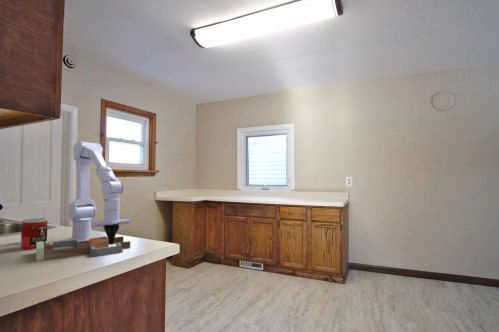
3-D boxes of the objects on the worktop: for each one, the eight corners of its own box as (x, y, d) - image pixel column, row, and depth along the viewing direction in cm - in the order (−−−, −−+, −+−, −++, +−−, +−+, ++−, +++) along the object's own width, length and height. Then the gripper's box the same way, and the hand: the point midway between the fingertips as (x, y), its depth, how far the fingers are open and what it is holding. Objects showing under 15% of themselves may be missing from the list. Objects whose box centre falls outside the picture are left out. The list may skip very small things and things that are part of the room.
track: (42, 252, 103) (43, 245, 103) (122, 242, 120) (122, 236, 120) (43, 259, 94) (43, 252, 94) (130, 247, 111) (130, 241, 111)
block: (88, 248, 110) (89, 238, 110) (105, 246, 113) (105, 236, 113) (91, 251, 105) (91, 241, 105) (108, 249, 109) (108, 238, 109)
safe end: (36, 252, 102) (36, 242, 102) (42, 252, 103) (43, 241, 103) (36, 260, 93) (36, 249, 93) (43, 259, 94) (44, 248, 94)
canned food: (31, 250, 106) (33, 221, 106) (15, 249, 107) (16, 220, 108) (50, 245, 113) (51, 218, 114) (34, 244, 115) (35, 217, 115)
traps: (49, 248, 108) (49, 242, 109) (110, 241, 122) (110, 235, 122) (51, 262, 91) (51, 254, 91) (122, 252, 104) (122, 245, 105)
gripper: (93, 212, 105) (92, 248, 104) (133, 209, 114) (132, 242, 113) (90, 210, 111) (89, 244, 110) (128, 208, 119) (127, 239, 119)
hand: (110, 243), depth 112 cm, fingers closed
